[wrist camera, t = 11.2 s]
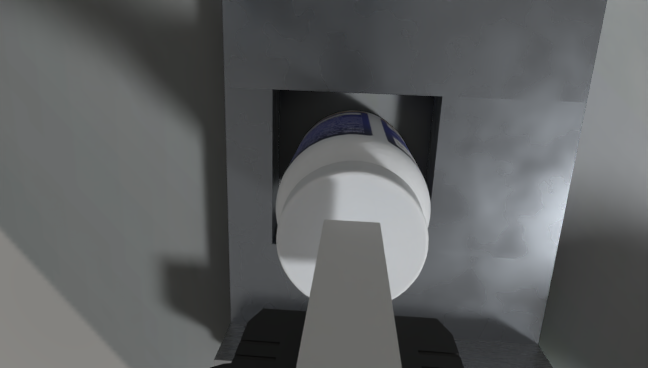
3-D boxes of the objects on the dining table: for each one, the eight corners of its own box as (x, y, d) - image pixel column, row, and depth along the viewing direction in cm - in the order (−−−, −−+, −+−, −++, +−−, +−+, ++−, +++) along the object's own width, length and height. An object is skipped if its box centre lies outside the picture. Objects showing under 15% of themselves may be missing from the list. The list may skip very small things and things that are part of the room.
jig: (233, -7, 21) (198, -25, 16) (583, 3, 20) (654, -12, 15) (241, 354, 27) (216, 420, 22) (514, 374, 26) (550, 447, 21)
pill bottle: (285, 199, 24) (239, 298, 14) (313, 95, 22) (282, 127, 13) (388, 229, 24) (411, 347, 14) (424, 127, 22) (476, 183, 13)
